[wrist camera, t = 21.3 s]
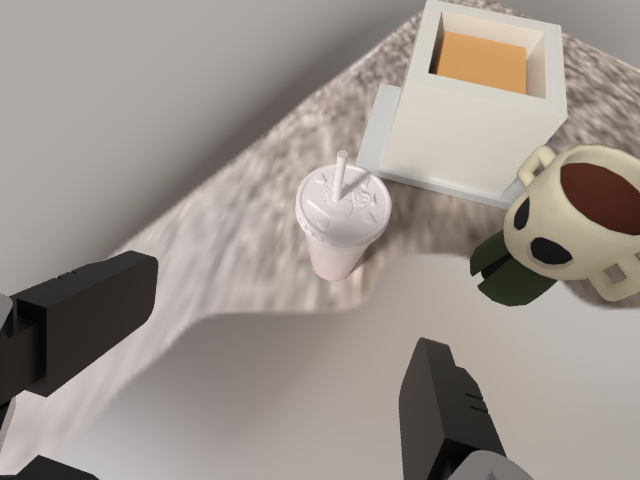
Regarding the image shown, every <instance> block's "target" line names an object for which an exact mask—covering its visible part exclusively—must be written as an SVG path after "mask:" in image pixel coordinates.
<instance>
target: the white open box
mask: <svg viewBox="0 0 640 480" xmlns="http://www.w3.org/2000/svg"><path fill="white" fill-rule="evenodd" d="M446 31H449V32H454V33H458V34H463V35H468V36H473V37H477V38H482V39H487V40H492V41H496V42H501V43H506V44H510V45H515V46H520V47H525V48H526V95H524V94H520V93H515V92H511V91H506V90H502V89H497V88H493V87H488V86H484V85H479V84H475V83H470V82H466V81H461V80H457V79H453V78H448V77H444V76H439V75H435V74H430V73H431V71H432V68H433V65H434V62H435V60H436V57H437V54H438V51H439V49H440V46H441V43H442V40H443V38H444V35H445V32H446ZM567 118H568V117H567V103H566V90H565V76H564V62H563V48H562V34H561V26H560V25H555V24H550V23H545V22H540V21H536V20H531V19H526V18H521V17H516V16H511V15H506V14H501V13H496V12H491V11H486V10H481V9H477V8H472V7H467V6H462V5H457V4H452V3H447V2H442V1H437V0H427V1H426V5H425V8H424V11H423V15H422V18H421V22H420V25H419V29H418V32H417V35H416V39H415V42H414V46H413V49H412V53H411V56H410V60H409V63H408V66H407V70H406V73H405V77H404V80H403V84H402V87H401V88H400V87H396V86H392V85H387V84H383V83H380V86H379V89H378V93H377V96H376V99H375V102H374V105H373V109H372V112H371V115H370V118H369V122H368V125H367V128H366V131H365V134H364V138H363V141H362V144H361V147H360V150H359V154H358V157H357V160H356V163H355V165H356V166H359V167H362V168H365V169H367V170H369V171H370V172H372V173H373V174H375V175H376V176H377V177H380V178H384V179H388V180H392V181H396V182H400V183H403V184H407V185H411V186H415V187H419V188H423V189H427V190H431V191H435V192H439V193H443V194H447V195H451V196H455V197H458V198H462V199H466V200H470V201H474V202H478V203H482V204H486V205H490V206H494V207H498V208H502V209H506V210H508V209H509V207H510V205H511V203H512V202H513V201H514V200H515V199H516V198H517V197H518V196H519V195H520V193H521V192H522V191H523V190H524V189H525V187H524V186H523V184H522V183H521V181H520V180H519V178H518V175H517V172H518V169H519V168H520V167H521V165H522V164H523V163H524V162H525V161H526V159H527V158H528V157H529V156H530V155H531V153H532V152H533V151H534V150H535V149H536V148H538V147H539V146H541V145H545V143H546V142H547V141H548V140H549V139H550V138H551V136H552V135H553V134H554V133H555V132H556V130H557V129H558V128H559V127H560V126H561V125H562V123H563V122H564V121H565V120H566V119H567Z"/></svg>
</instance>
